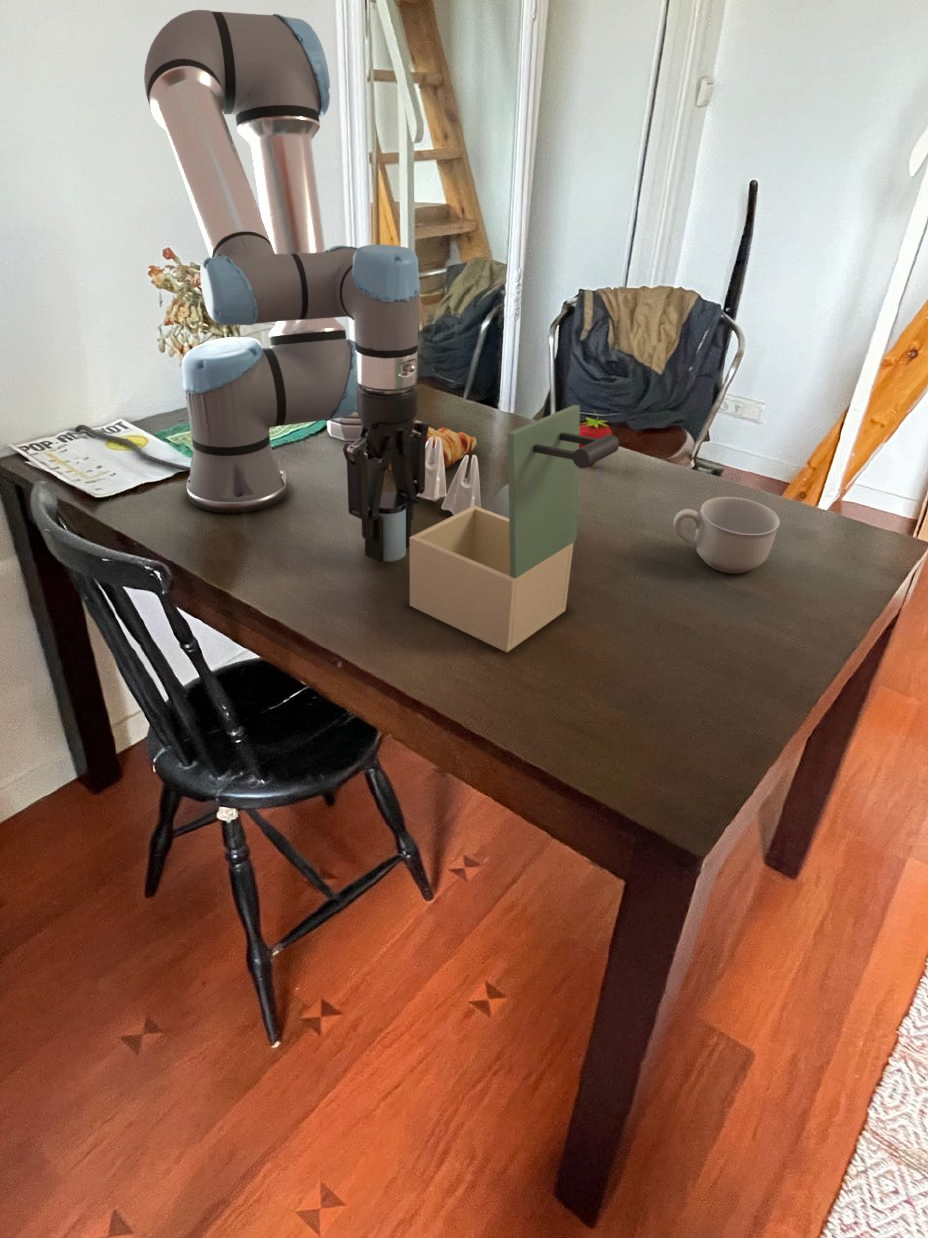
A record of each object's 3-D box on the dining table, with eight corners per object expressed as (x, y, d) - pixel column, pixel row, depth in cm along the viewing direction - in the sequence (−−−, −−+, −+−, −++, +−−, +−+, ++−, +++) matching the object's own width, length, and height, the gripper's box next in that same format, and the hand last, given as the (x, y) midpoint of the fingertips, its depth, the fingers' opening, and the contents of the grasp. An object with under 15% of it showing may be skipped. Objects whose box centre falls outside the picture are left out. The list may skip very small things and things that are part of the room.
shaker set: (405, 501, 132) (405, 435, 126) (421, 492, 135) (421, 427, 129) (468, 521, 127) (471, 453, 121) (482, 512, 130) (486, 445, 124)
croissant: (463, 462, 155) (451, 420, 154) (497, 453, 147) (485, 408, 146) (371, 488, 143) (358, 442, 141) (403, 479, 135) (389, 430, 133)
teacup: (768, 553, 121) (781, 503, 117) (765, 588, 113) (779, 536, 108) (672, 536, 125) (682, 487, 121) (662, 569, 116) (672, 517, 112)
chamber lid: (507, 432, 84) (571, 444, 80) (574, 404, 93) (636, 413, 88) (509, 576, 92) (568, 595, 88) (571, 538, 101) (628, 553, 96)
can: (384, 442, 153) (383, 378, 147) (323, 440, 153) (319, 376, 146) (388, 421, 163) (387, 360, 156) (330, 419, 162) (327, 358, 156)
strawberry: (562, 465, 147) (568, 410, 142) (591, 456, 151) (598, 402, 146) (586, 476, 143) (593, 420, 138) (615, 466, 147) (623, 412, 142)
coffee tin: (363, 555, 113) (361, 502, 109) (383, 540, 117) (382, 489, 113) (393, 565, 112) (393, 511, 107) (413, 550, 115) (413, 498, 111)
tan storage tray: (409, 605, 106) (409, 537, 100) (471, 570, 114) (474, 505, 109) (506, 652, 98) (512, 581, 92) (565, 610, 106) (573, 542, 101)
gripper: (356, 409, 93) (361, 585, 106) (456, 376, 105) (450, 537, 118) (311, 393, 97) (321, 565, 110) (413, 362, 109) (411, 521, 122)
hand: (388, 550), depth 114 cm, fingers closed on coffee tin, 5 cm apart
